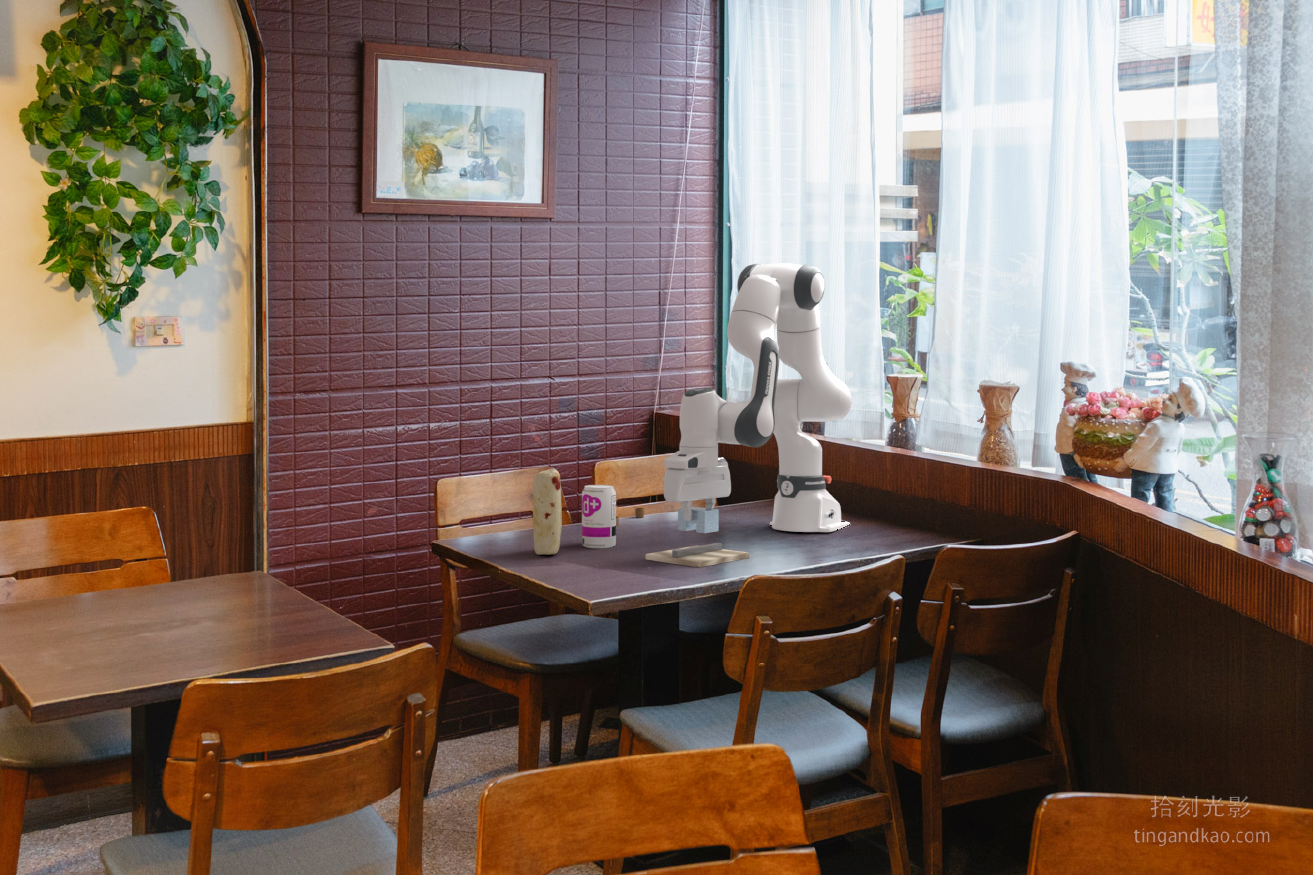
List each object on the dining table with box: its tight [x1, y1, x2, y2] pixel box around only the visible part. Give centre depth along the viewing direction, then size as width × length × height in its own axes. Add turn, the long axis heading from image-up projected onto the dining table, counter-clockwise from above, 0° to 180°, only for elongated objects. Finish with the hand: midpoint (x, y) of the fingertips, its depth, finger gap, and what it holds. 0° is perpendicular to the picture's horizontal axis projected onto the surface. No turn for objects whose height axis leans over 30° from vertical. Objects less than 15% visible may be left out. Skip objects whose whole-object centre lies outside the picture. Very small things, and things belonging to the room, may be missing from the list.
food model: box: [532, 468, 563, 556], centre depth 280 cm, size 10×7×20 cm
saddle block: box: [677, 506, 720, 534], centre depth 274 cm, size 5×8×5 cm, turn 48°
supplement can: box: [581, 484, 617, 549], centre depth 290 cm, size 8×8×15 cm
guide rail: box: [671, 542, 723, 558], centre depth 275 cm, size 16×2×2 cm, turn 138°
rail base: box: [645, 545, 750, 568], centre depth 275 cm, size 18×16×1 cm
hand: (698, 519), depth 274 cm, fingers closed on saddle block, 5 cm apart
